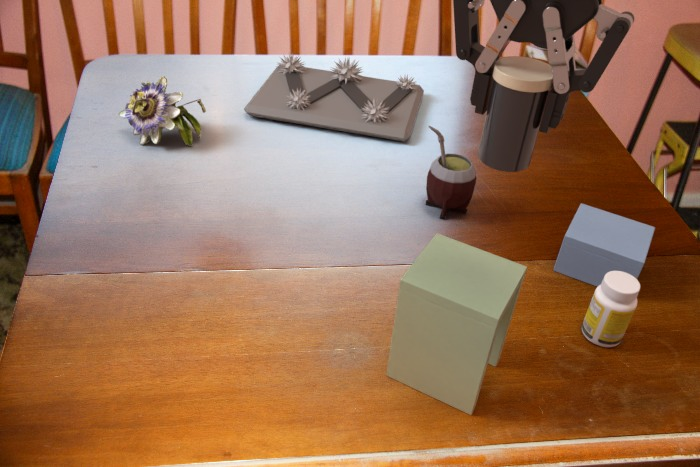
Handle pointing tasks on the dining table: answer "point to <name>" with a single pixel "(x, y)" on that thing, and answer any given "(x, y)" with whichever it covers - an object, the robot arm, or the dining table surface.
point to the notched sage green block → (452, 320)
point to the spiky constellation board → (338, 100)
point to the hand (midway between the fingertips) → (513, 119)
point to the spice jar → (514, 112)
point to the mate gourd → (450, 181)
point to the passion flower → (159, 113)
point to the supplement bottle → (611, 309)
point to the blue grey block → (602, 245)
